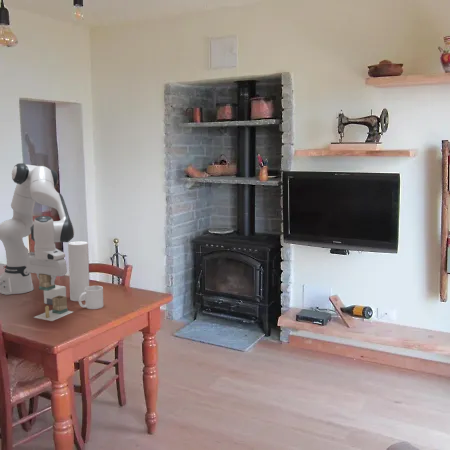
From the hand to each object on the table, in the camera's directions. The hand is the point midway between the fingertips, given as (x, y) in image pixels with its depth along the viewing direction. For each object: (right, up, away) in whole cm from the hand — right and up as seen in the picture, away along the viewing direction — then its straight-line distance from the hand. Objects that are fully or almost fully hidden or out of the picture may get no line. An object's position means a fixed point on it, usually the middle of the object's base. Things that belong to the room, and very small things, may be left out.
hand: (47, 283), depth 230 cm
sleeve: (0, -2, 0) cm, 2 cm away
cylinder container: (+6, -12, +31) cm, 34 cm away
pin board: (+1, -16, +6) cm, 17 cm away
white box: (-4, -13, +24) cm, 27 cm away
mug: (+15, -14, +17) cm, 27 cm away
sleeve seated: (+3, -14, +9) cm, 17 cm away
